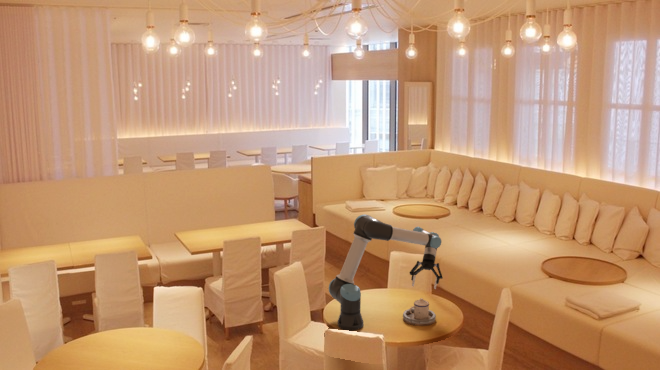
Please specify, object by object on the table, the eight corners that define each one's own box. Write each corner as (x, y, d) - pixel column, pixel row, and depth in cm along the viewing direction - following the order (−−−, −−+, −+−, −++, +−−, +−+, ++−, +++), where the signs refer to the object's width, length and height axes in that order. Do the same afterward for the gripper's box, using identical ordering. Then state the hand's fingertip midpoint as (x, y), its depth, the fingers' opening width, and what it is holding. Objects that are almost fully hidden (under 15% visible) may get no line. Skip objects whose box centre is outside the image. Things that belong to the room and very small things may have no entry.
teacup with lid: (425, 313, 389) (425, 295, 386) (431, 319, 380) (431, 300, 378) (406, 315, 386) (407, 297, 383) (412, 321, 377) (413, 302, 375)
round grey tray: (399, 323, 378) (399, 318, 377) (407, 311, 395) (407, 306, 395) (431, 327, 371) (432, 322, 370) (438, 315, 389) (438, 310, 388)
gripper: (450, 260, 398) (444, 292, 387) (410, 256, 407) (404, 286, 396) (448, 255, 392) (443, 286, 381) (409, 251, 401) (402, 281, 390)
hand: (423, 286), depth 389 cm, fingers open, 13 cm apart
